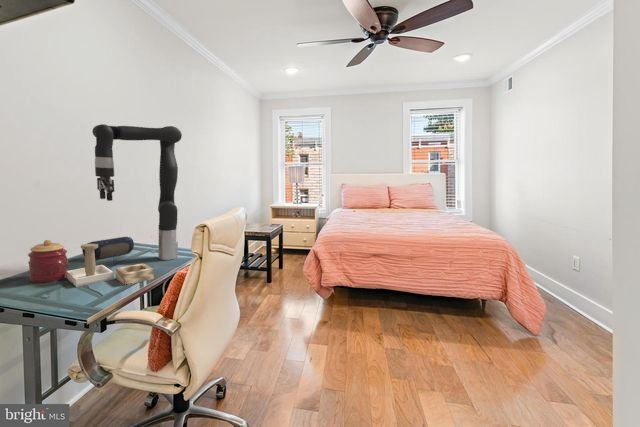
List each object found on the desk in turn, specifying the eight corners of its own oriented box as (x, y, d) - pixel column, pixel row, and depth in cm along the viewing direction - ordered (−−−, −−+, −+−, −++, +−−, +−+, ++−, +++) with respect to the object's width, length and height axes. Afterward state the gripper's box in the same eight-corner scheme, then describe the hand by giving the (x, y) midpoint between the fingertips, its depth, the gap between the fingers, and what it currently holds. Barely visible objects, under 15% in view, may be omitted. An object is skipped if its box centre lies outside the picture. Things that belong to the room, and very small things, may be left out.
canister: (74, 276, 139) (72, 239, 136) (39, 285, 127) (36, 245, 125) (58, 271, 144) (56, 235, 141) (23, 279, 132) (20, 240, 130)
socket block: (143, 272, 150) (143, 263, 149) (153, 278, 143) (153, 268, 143) (115, 278, 140) (115, 268, 140) (125, 285, 134) (125, 274, 133)
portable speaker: (90, 263, 158) (90, 244, 157) (80, 259, 163) (79, 241, 161) (137, 253, 181) (137, 237, 179) (127, 250, 185) (127, 234, 184)
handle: (93, 279, 136) (93, 246, 133) (79, 278, 135) (78, 245, 133) (101, 275, 140) (100, 244, 138) (87, 274, 140) (86, 243, 138)
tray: (102, 271, 148) (102, 264, 147) (113, 279, 139) (113, 272, 139) (66, 278, 136) (66, 270, 136) (76, 287, 128) (75, 279, 128)
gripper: (119, 167, 145) (120, 200, 148) (107, 166, 154) (109, 197, 156) (101, 167, 139) (102, 201, 142) (90, 165, 148) (91, 198, 150)
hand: (106, 199), depth 149 cm, fingers open, 8 cm apart
